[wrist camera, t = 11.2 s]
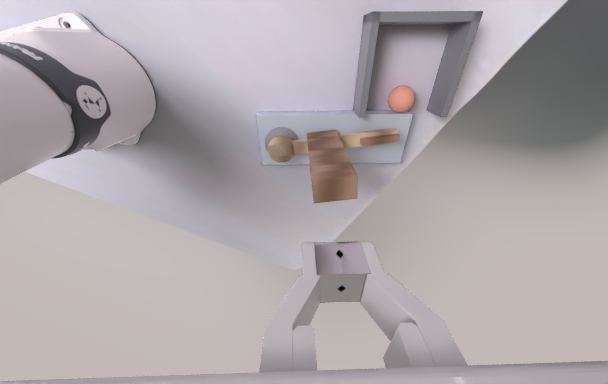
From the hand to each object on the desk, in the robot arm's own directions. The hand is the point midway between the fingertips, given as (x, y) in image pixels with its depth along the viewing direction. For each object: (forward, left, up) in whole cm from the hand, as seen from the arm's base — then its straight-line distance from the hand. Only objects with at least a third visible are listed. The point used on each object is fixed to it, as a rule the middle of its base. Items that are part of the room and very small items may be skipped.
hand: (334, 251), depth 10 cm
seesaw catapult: (+5, -7, -33) cm, 34 cm away
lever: (+4, -6, -30) cm, 31 cm away
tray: (+15, +4, -33) cm, 37 cm away
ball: (+15, +2, -30) cm, 33 cm away
